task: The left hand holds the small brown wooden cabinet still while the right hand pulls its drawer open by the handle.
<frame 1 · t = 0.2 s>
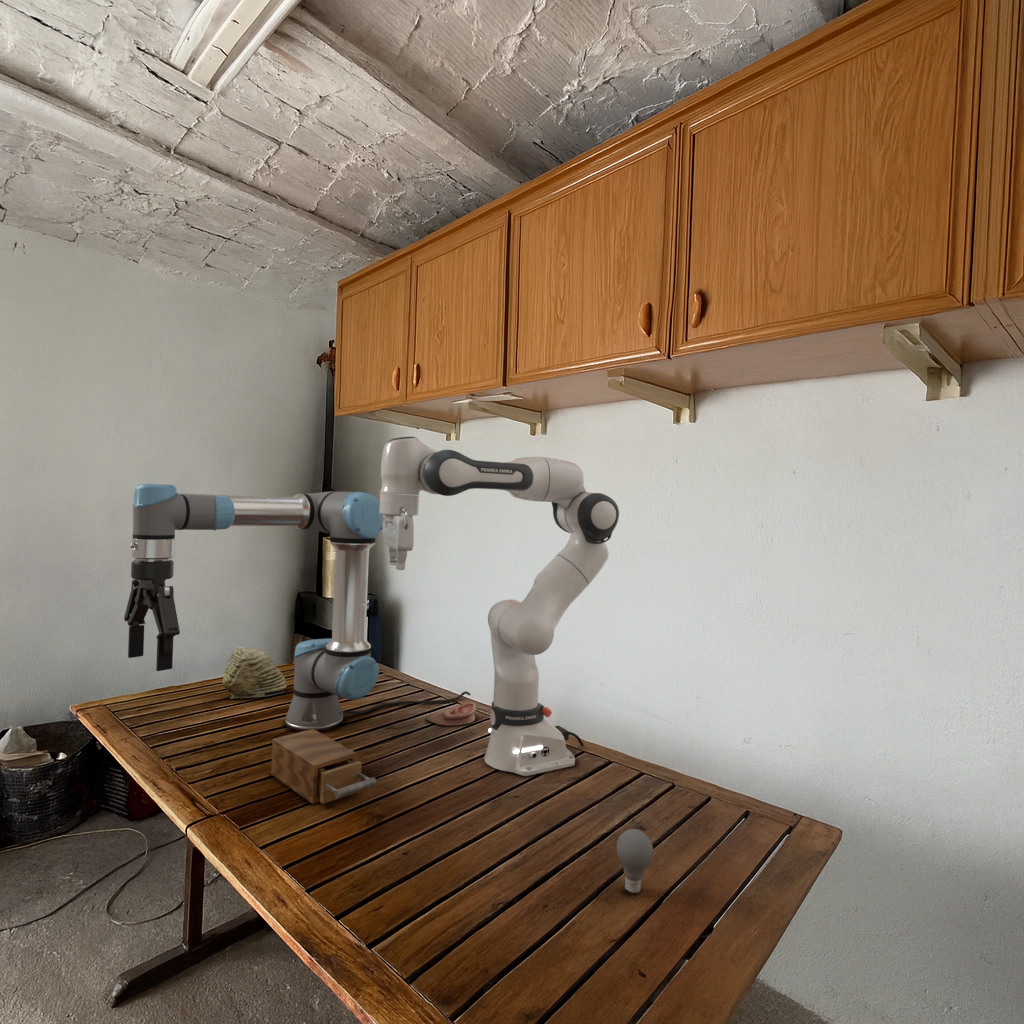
left hand: (149, 663, 129), 28 cm above the table, tool pointing down, fingers open, 13 cm apart
right hand: (396, 567, 145), 48 cm above the table, tool pointing down, fingers open, 8 cm apart
cabinet: (312, 781, 140), on the table
light bulb: (632, 891, 106), on the table
drawer: (328, 773, 136), point 4 cm above the table, slide at 1.9 cm
fossil: (254, 694, 198), on the table
anatomical model: (451, 719, 184), on the table
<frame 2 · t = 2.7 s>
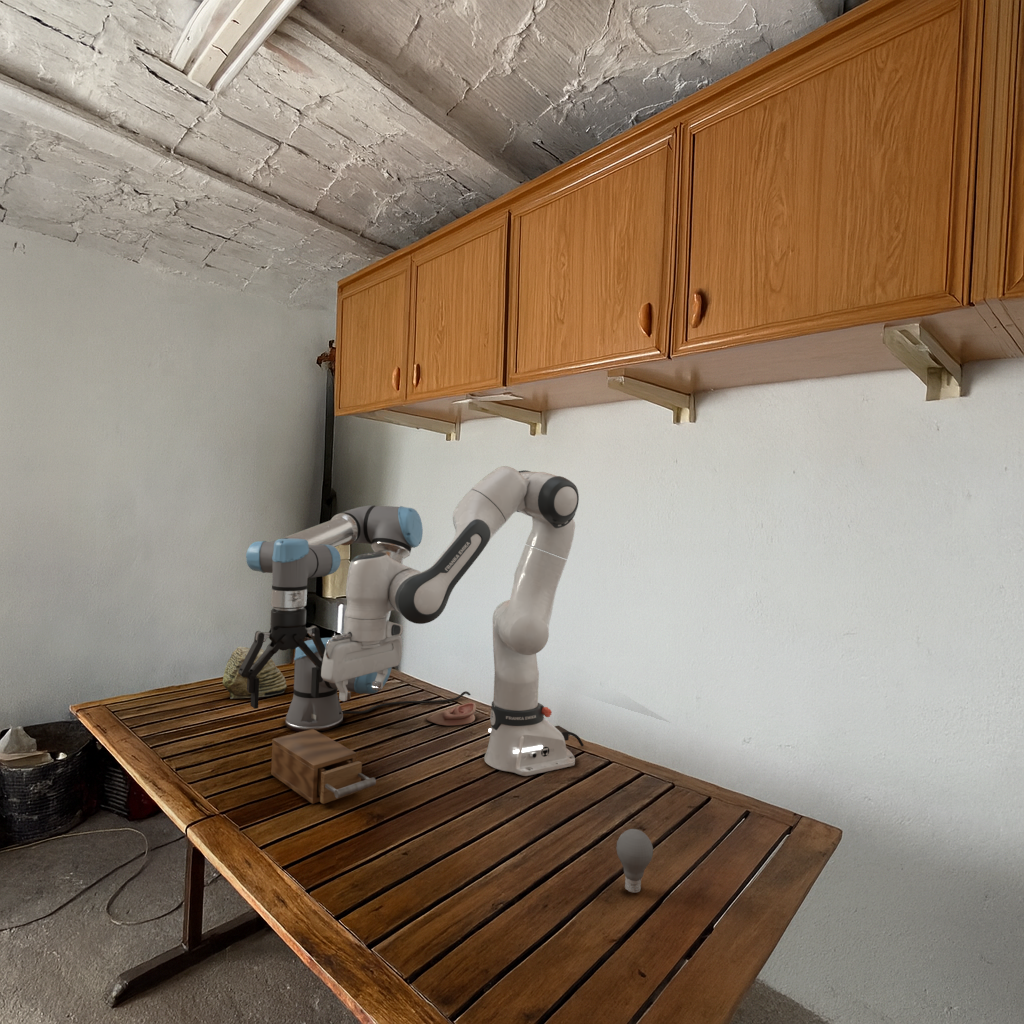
left hand: (285, 701, 143), 17 cm above the table, tool pointing down, fingers open, 13 cm apart
right hand: (361, 694, 133), 22 cm above the table, tool pointing down, fingers open, 8 cm apart
nothing on the table moved.
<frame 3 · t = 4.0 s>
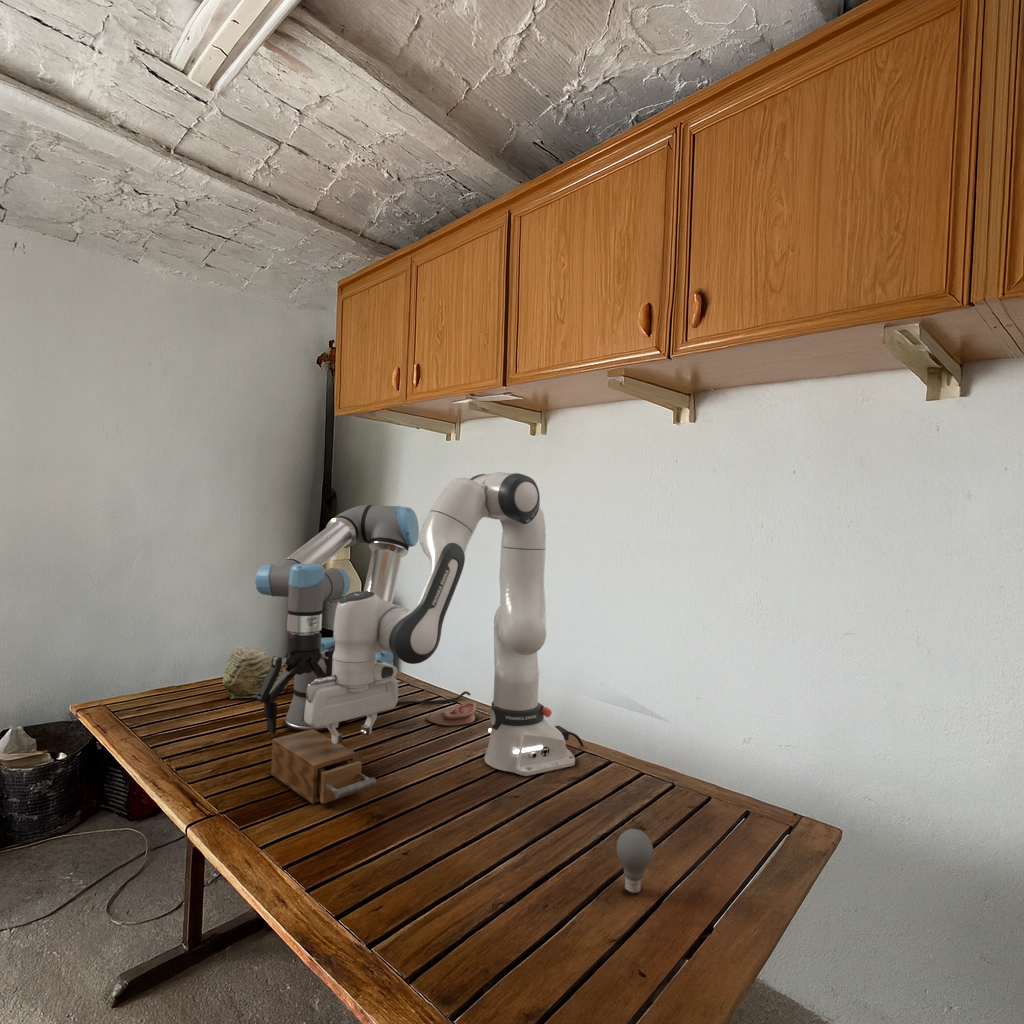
left hand: (300, 725, 144), 11 cm above the table, tool pointing down, fingers open, 13 cm apart
right hand: (351, 738, 130), 14 cm above the table, tool pointing down, fingers open, 5 cm apart
nothing on the table moved.
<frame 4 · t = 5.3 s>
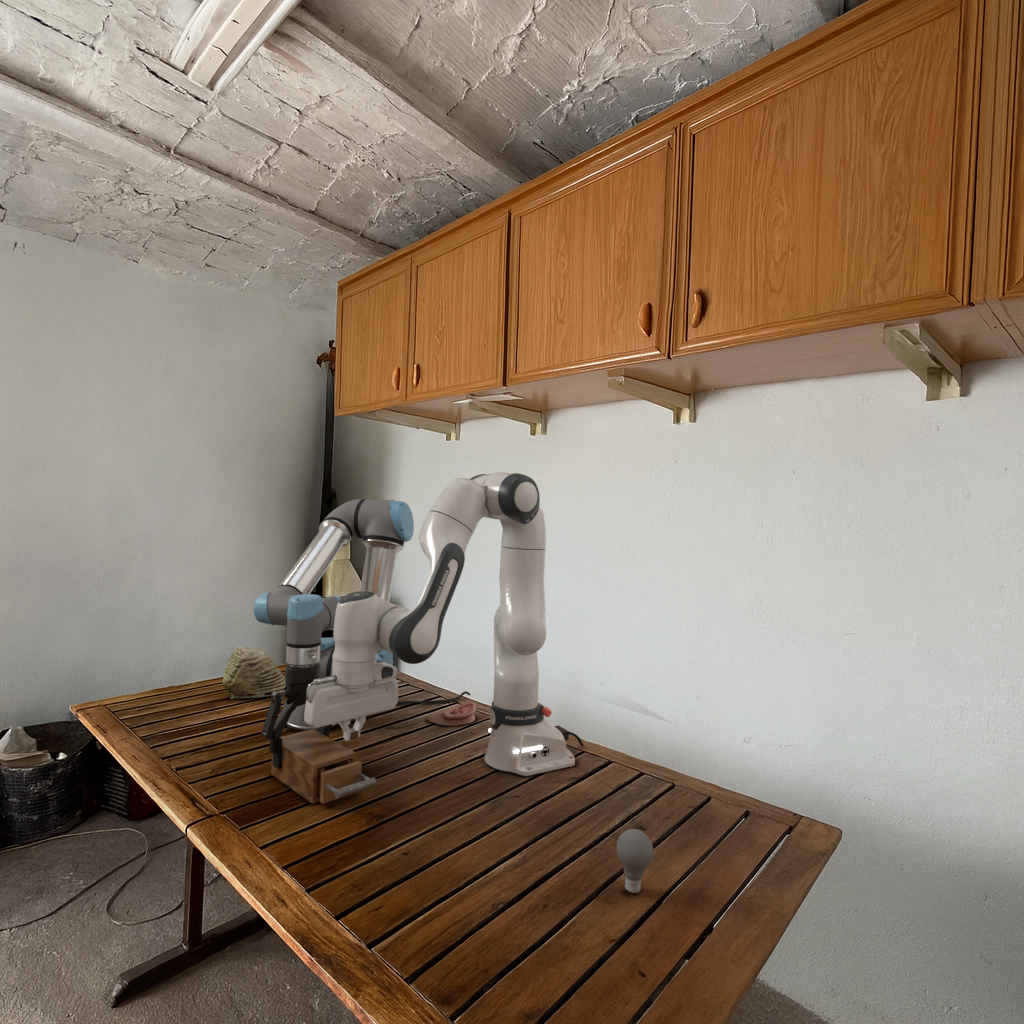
left hand: (299, 760, 145), 3 cm above the table, tool pointing down, fingers closed on cabinet, 10 cm apart
right hand: (351, 738, 130), 14 cm above the table, tool pointing down, fingers closed
cabinet: (312, 781, 140), on the table, touching left hand
everything else where it was.
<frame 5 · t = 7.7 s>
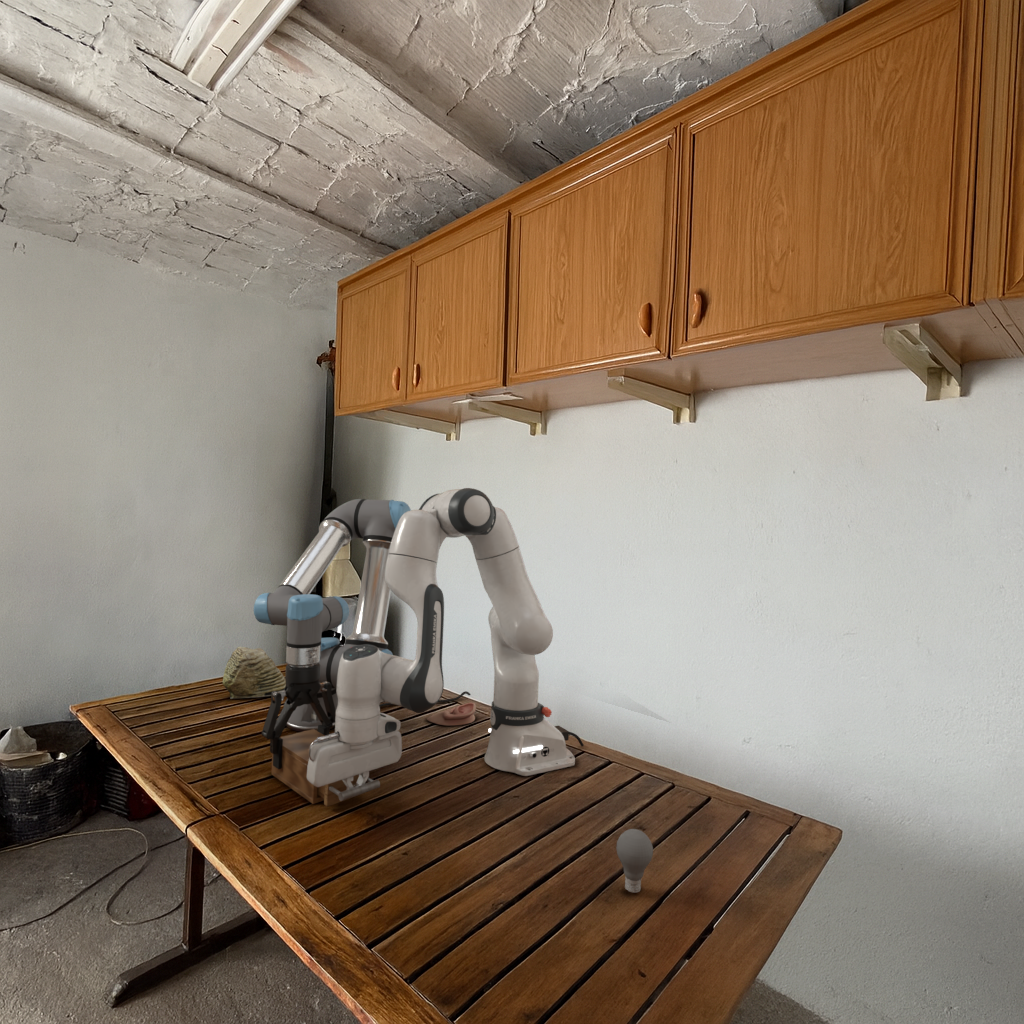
left hand: (299, 760, 144), 3 cm above the table, tool pointing down, fingers closed on cabinet, 10 cm apart
right hand: (354, 794, 129), 3 cm above the table, tool pointing down, fingers closed, pressing on drawer
cabinet: (312, 781, 140), on the table, touching left hand
drawer: (331, 775, 135), point 4 cm above the table, slide at 3.3 cm, touching right hand
everything else where it was.
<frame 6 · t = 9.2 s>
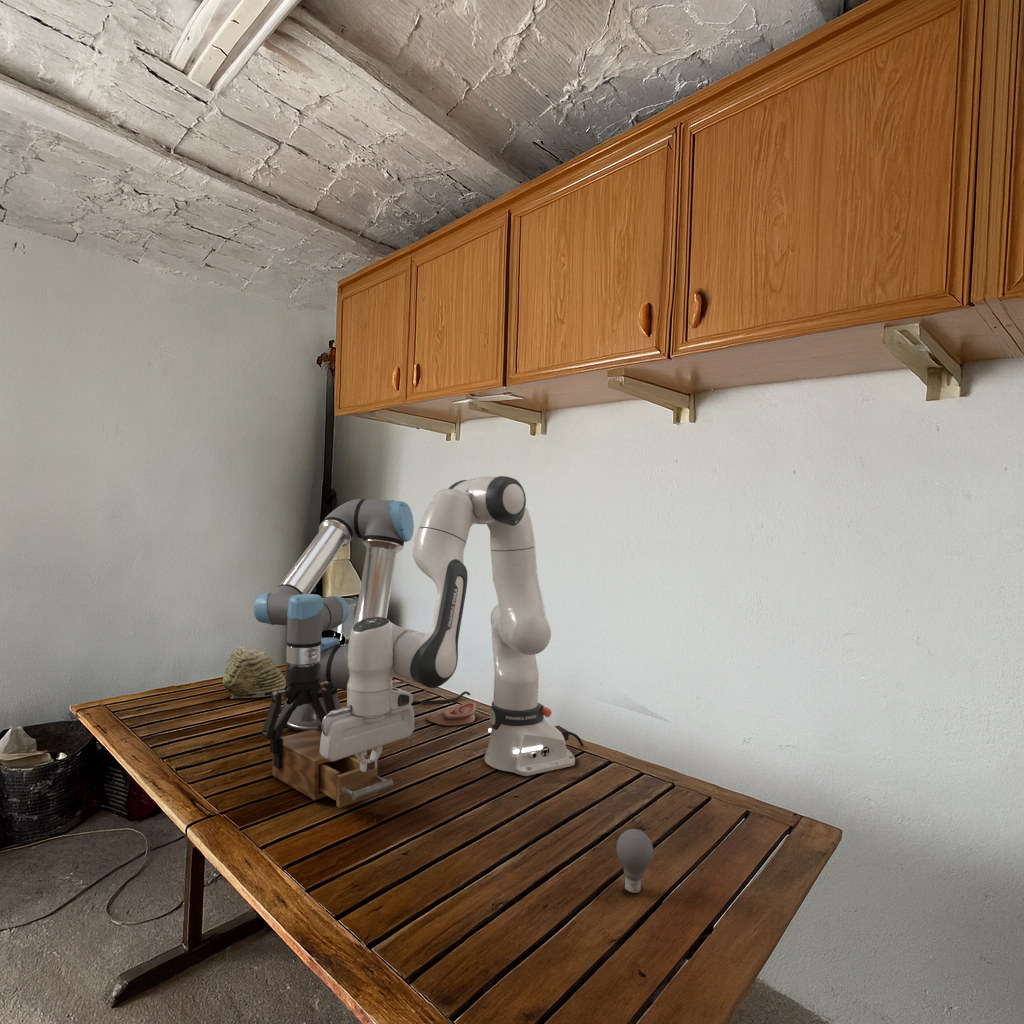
left hand: (300, 760, 144), 3 cm above the table, tool pointing down, fingers closed on cabinet, 10 cm apart
right hand: (368, 769, 126), 10 cm above the table, tool pointing down, fingers closed
cabinet: (313, 780, 140), on the table, touching left hand
drawer: (343, 777, 132), point 5 cm above the table, slide at 7.5 cm
everything else where it was.
when the left hand's fingers open (3 cm above the table, at t = 10.2 s): cabinet stays where it is, on the table.
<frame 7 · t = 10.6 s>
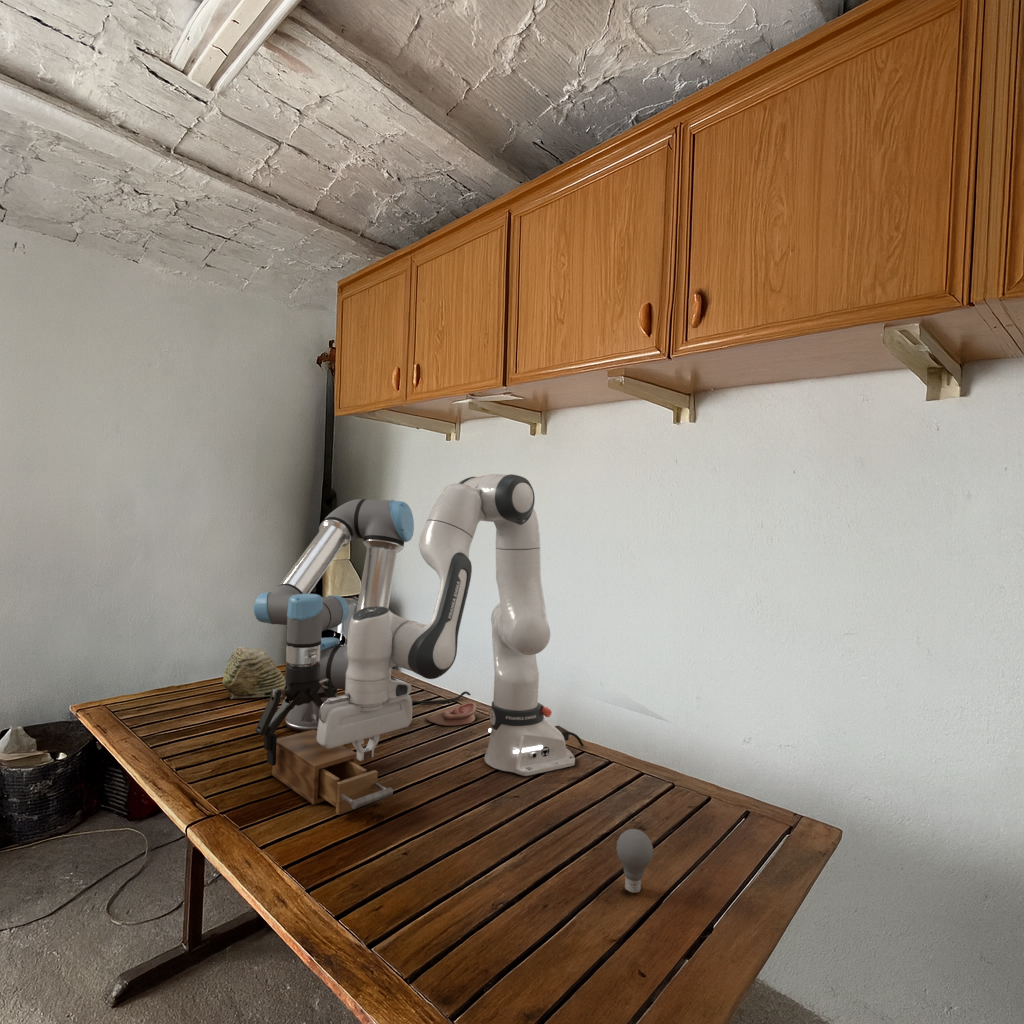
left hand: (299, 755, 145), 4 cm above the table, tool pointing down, fingers open, 13 cm apart
right hand: (365, 758, 126), 12 cm above the table, tool pointing down, fingers closed
cabinet: (313, 782, 140), on the table
drawer: (343, 782, 132), point 4 cm above the table, slide at 7.5 cm
everything else where it was.
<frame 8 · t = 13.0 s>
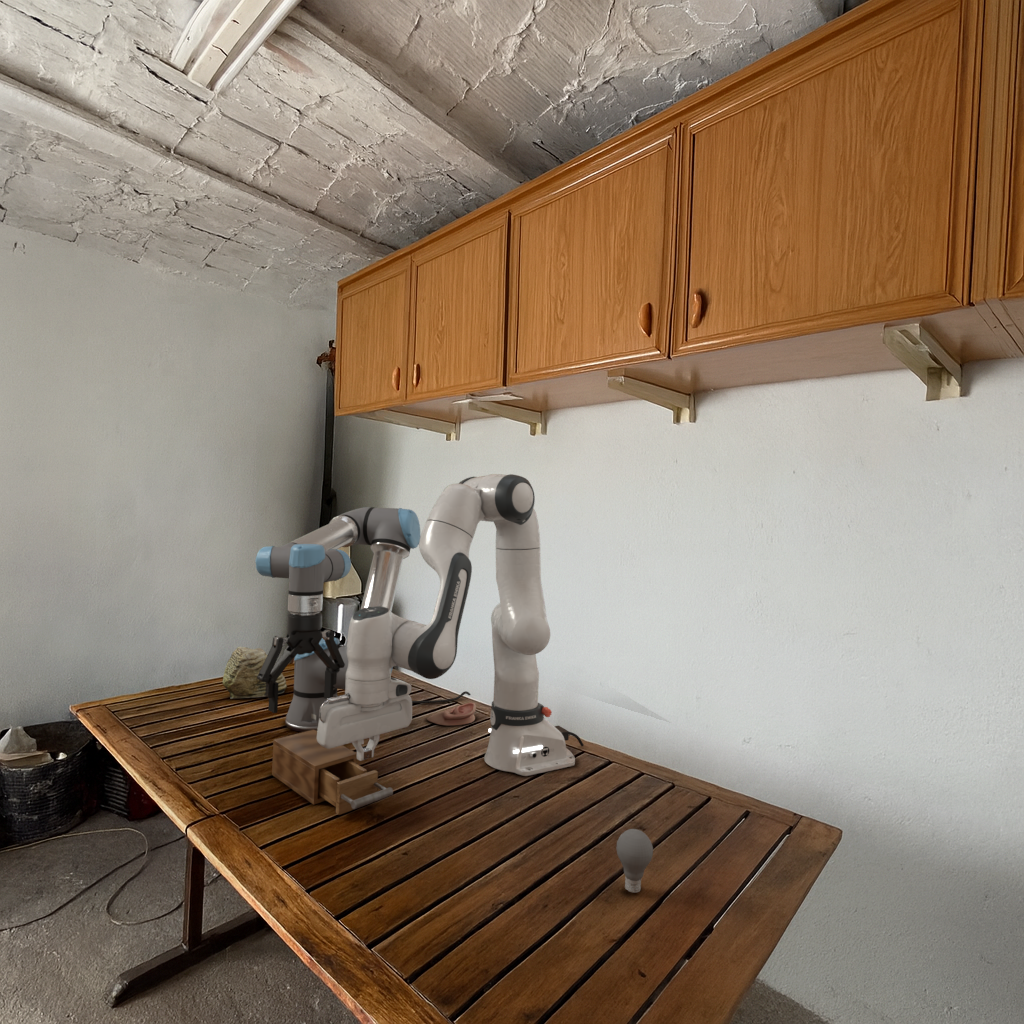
left hand: (301, 705, 144), 16 cm above the table, tool pointing down, fingers open, 13 cm apart
right hand: (365, 758, 126), 12 cm above the table, tool pointing down, fingers closed
nothing on the table moved.
at the end: drawer slide at 7.5 cm; cabinet tilted 0°; cabinet never tilted more than 3° during the clip; cabinet moved 0.4 cm from its start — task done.
